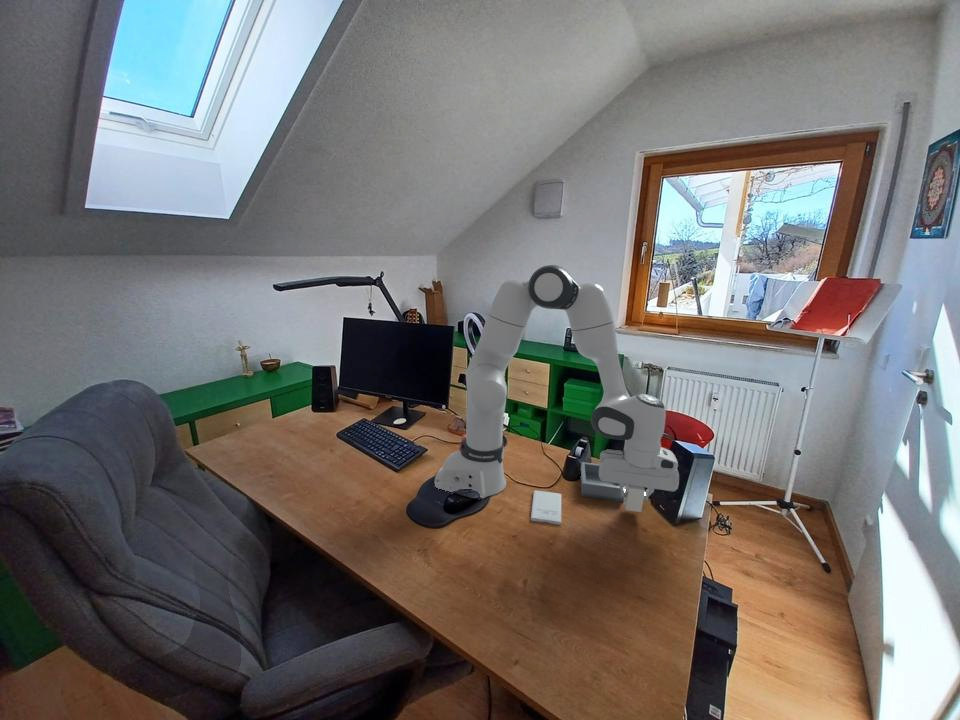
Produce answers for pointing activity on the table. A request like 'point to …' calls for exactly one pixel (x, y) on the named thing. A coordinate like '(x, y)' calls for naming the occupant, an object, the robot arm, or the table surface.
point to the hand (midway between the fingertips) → (633, 497)
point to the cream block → (634, 498)
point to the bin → (598, 484)
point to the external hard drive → (546, 507)
